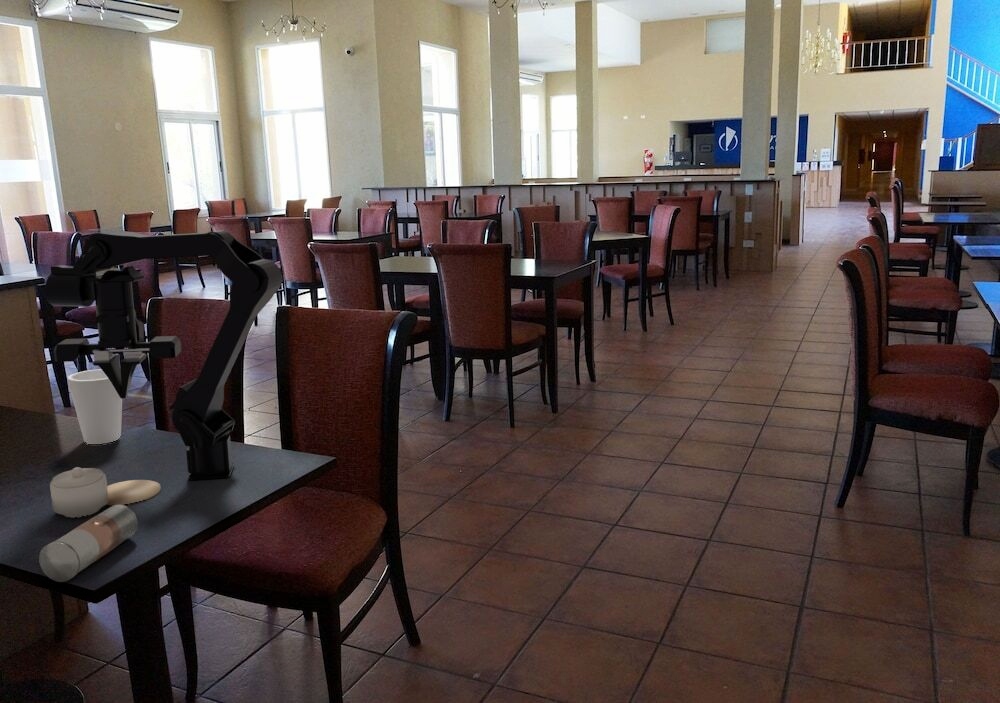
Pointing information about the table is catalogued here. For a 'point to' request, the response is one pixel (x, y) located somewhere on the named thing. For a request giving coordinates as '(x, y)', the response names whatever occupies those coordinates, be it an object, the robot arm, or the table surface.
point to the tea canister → (87, 543)
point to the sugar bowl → (79, 492)
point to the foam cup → (96, 406)
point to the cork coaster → (131, 491)
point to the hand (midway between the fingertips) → (123, 397)
